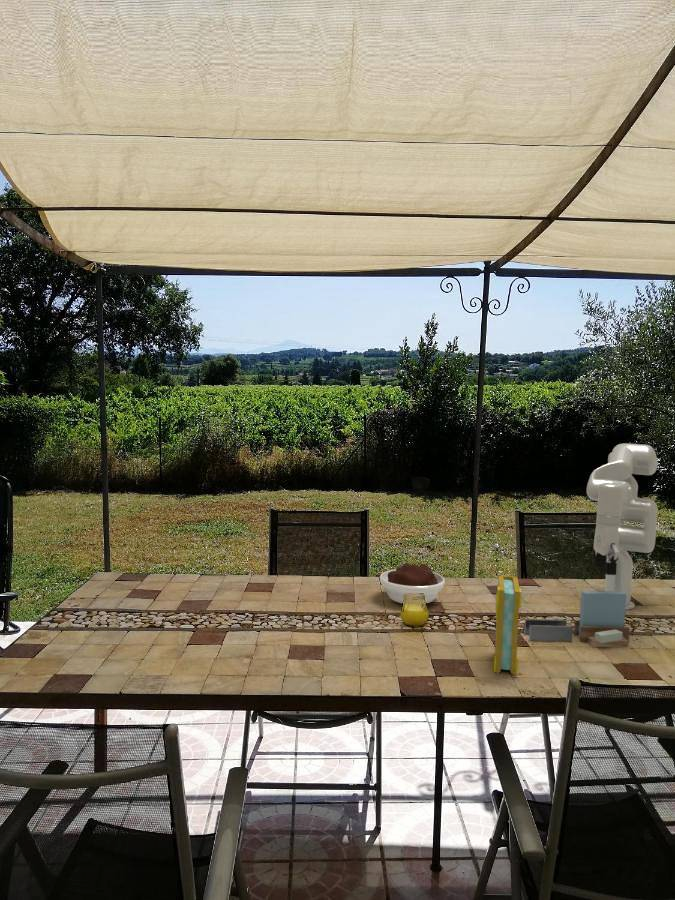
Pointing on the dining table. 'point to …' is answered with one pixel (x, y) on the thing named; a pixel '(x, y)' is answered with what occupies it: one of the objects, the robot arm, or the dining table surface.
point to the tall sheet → (602, 609)
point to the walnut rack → (591, 630)
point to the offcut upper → (608, 636)
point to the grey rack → (548, 630)
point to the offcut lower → (608, 643)
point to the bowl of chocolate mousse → (411, 582)
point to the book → (507, 623)
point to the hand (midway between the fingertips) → (605, 570)
